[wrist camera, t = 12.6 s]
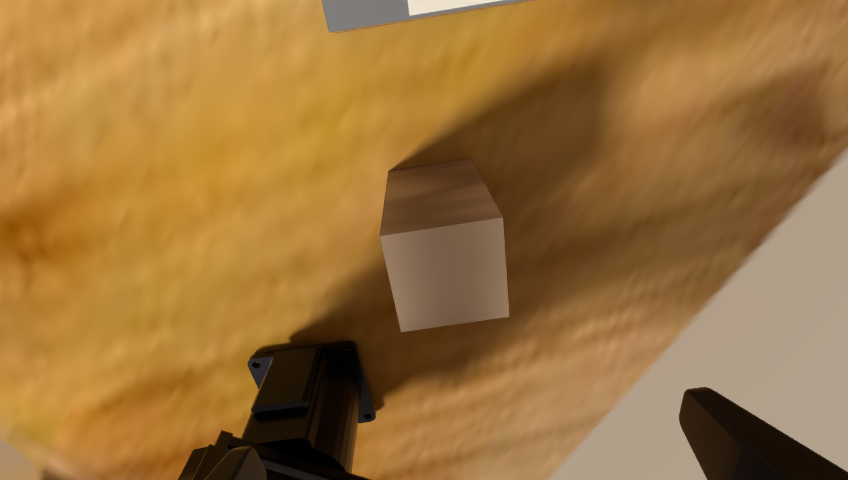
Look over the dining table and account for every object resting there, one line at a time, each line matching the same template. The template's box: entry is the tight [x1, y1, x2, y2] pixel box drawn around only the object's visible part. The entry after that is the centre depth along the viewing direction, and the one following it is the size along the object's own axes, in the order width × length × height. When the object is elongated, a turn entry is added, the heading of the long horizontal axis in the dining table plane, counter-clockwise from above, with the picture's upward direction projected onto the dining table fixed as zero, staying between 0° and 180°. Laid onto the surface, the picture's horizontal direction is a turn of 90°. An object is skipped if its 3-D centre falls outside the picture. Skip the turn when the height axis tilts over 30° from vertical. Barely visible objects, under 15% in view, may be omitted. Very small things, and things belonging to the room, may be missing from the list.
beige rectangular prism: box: [380, 158, 509, 332], centre depth 17 cm, size 4×4×7 cm
